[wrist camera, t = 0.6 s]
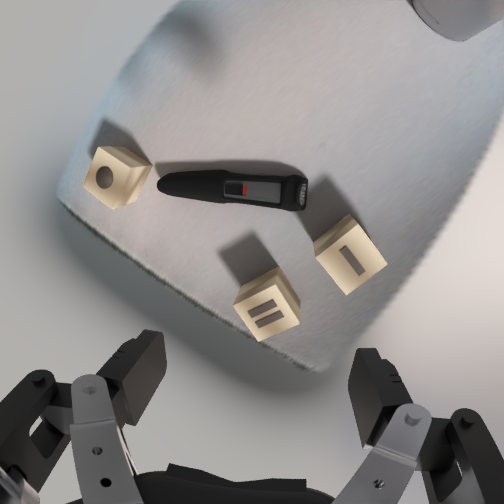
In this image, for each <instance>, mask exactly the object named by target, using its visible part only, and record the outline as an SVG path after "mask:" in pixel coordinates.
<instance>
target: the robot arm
mask: <svg viewBox="0 0 504 504" xmlns="http://www.w3.org/2000/svg"><path fill="white" fill-rule="evenodd" d="M412 3H413V6H414V8H415V10H416V11H417V13H418V14H419V16H420V17H421V18H422V19H423V20H424V22H425V23H426V24H427V25H429V26H430V27H431V28H432V29H433V30H435V31H436V32H437V33H439V34H440V35H442V36H444V37H446V38H448V39H451V40H454V41H465V40H468V39H469V38H471V37H473V36H474V35H476V34H478V33H479V32H481V31H483V30H485V29H486V28H488V27H490V26H491V25H493V24H495V23H497V22H498V21H500V20H502V19H504V0H412ZM166 368H167V360H166V352H165V344H164V336H163V333H162V332H158V331H152V330H147V329H145V330H143V332H142V333H141V334H140V335H139V336H138V337H137V338H136V339H134V338H132V339H131V340H129V341H127V342H125V343H123V344H122V345H121V346H120V348H119V349H118V350H117V352H115V353H114V354H113V355H112V357H111V358H110V359H109V360H108V361H107V362H106V363H105V364H104V365H103V367H102V368H101V369H100V370H99V371H98V372H97V373H96V375H94V374H88V375H83V376H80V377H78V378H77V379H76V380H75V381H74V382H73V383H72V384H68V383H58V382H56V381H55V378H54V375H53V374H52V373H51V372H50V371H48V370H35V371H32V372H31V373H29V374H28V375H27V376H26V377H25V378H24V379H23V380H22V381H21V382H20V383H19V384H18V385H17V386H16V387H15V388H14V389H13V390H12V391H11V392H10V393H9V394H8V395H7V396H6V397H5V398H4V399H3V400H2V401H1V402H0V504H40V498H39V495H38V493H39V491H40V490H41V488H42V486H43V485H44V483H45V481H46V479H47V478H48V476H49V474H50V473H51V471H52V470H53V468H54V466H55V465H56V463H57V461H58V460H59V458H60V456H61V455H62V453H63V452H64V450H65V448H66V446H67V445H68V444H69V442H70V441H71V443H72V449H73V456H74V462H75V467H76V473H77V478H78V482H79V487H80V491H81V495H82V498H81V499H78V500H75V501H72V502H70V503H67V504H397V503H398V501H399V499H400V498H401V496H402V494H403V492H404V490H405V488H406V486H407V484H408V482H409V480H410V478H411V476H412V474H413V472H414V470H415V471H421V473H422V476H423V480H424V484H425V488H426V492H427V496H428V500H429V504H504V459H503V458H502V455H501V453H500V452H499V449H498V447H497V445H496V444H495V442H494V440H493V438H492V436H491V434H490V432H489V430H488V429H487V427H486V425H485V423H484V422H483V420H482V418H481V416H480V415H479V414H478V413H477V412H475V411H473V410H471V409H467V408H462V409H458V410H456V411H455V412H454V413H453V415H452V416H451V418H450V419H443V418H433V417H431V415H430V413H429V411H428V410H427V409H425V408H424V407H422V406H420V405H417V404H414V403H413V401H412V399H411V397H410V395H409V393H408V391H407V389H406V387H405V385H404V383H403V382H402V380H401V377H400V376H399V374H398V372H397V370H396V368H395V366H394V365H393V364H391V363H390V362H389V361H388V360H387V359H381V357H380V355H379V353H378V351H377V349H376V348H358V349H357V350H356V353H355V357H354V361H353V365H352V368H351V372H350V376H349V380H348V391H349V395H350V399H351V403H352V407H353V411H354V415H355V418H356V422H357V427H358V431H359V435H360V439H361V443H362V448H363V449H369V448H372V450H371V451H370V453H369V454H368V456H367V457H366V459H365V460H364V462H363V463H362V465H361V466H360V468H359V469H358V470H357V472H356V473H355V474H354V476H353V477H352V478H351V480H350V481H349V482H348V484H347V485H346V486H345V488H344V489H343V490H342V491H341V493H340V494H339V495H338V496H337V497H336V499H335V498H334V497H332V496H330V495H328V494H326V493H323V492H321V491H318V490H315V489H311V488H306V479H275V478H272V479H264V480H256V481H245V482H233V481H229V480H226V479H224V478H221V477H218V476H216V475H213V474H210V473H208V472H205V471H202V470H198V469H193V468H188V467H183V466H179V465H175V464H171V463H169V465H168V468H167V470H166V471H154V472H147V473H142V474H139V473H138V471H137V469H136V467H135V464H134V461H133V459H132V456H131V453H130V450H129V447H128V445H127V441H126V438H125V435H124V433H123V430H122V428H123V426H124V425H125V423H126V424H129V425H133V426H136V424H137V423H138V421H139V419H140V417H141V416H142V414H143V412H144V410H145V408H146V407H147V405H148V403H149V401H150V400H151V398H152V396H153V394H154V393H155V391H156V389H157V387H158V386H159V384H160V382H161V381H162V379H163V377H164V375H165V372H166ZM39 416H40V417H41V419H42V422H41V423H40V425H39V426H38V427H37V428H36V430H35V431H34V432H33V434H32V435H31V436H29V430H30V428H31V426H32V425H33V424H34V422H35V421H36V420H37V418H38V417H39ZM457 461H458V464H459V467H460V469H461V472H462V476H461V473H460V470H459V468H458V465H457Z"/></svg>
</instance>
